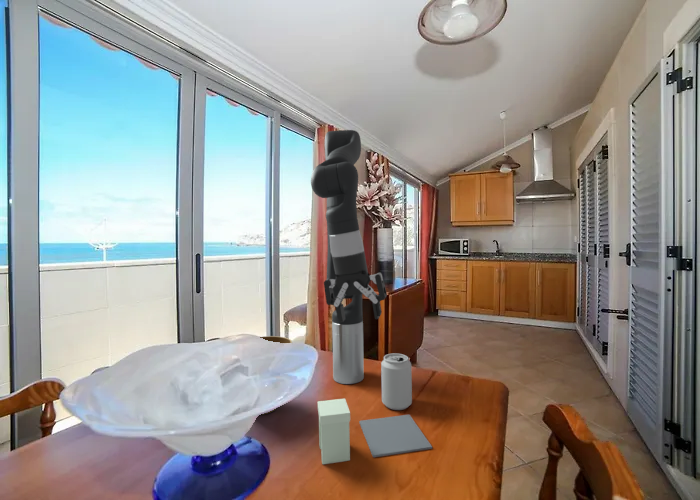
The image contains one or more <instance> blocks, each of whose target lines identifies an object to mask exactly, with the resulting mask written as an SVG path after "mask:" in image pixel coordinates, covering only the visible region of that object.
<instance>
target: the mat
mask: <svg viewBox="0 0 700 500" xmlns="http://www.w3.org/2000/svg"><path fill="white" fill-rule="evenodd" d="M359 426H360V428H361V431H362V433H363V436H364V438H365V441H366V443H367V446H368V448H369V451H370V453H371V455H372V458H378V457H385V456H391V455H399V454H405V453H413V452H419V451H426V450H432V449H433V446H432V444H431V443H430V442H429V440H428V438H427V436H425V435H424V433H423V432H422V430H421V429H420V427H419V426H418V425H417V423H416V422H415V420H414V419H413V417H412V416H411V414H403V415H395V416H386V417H379V418H371V419H365V420H364V419H362V420H359Z"/></svg>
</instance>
